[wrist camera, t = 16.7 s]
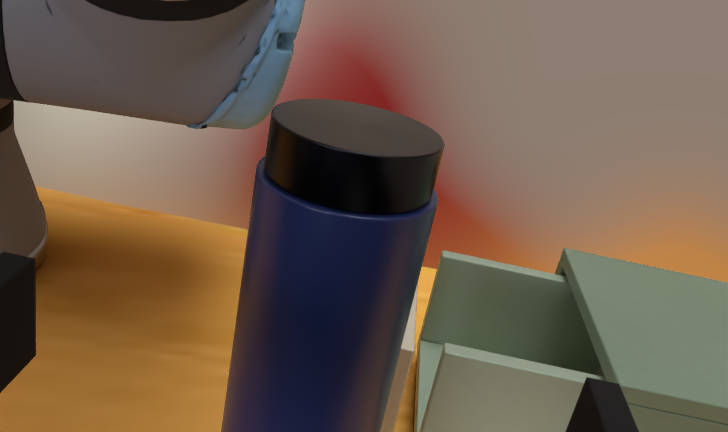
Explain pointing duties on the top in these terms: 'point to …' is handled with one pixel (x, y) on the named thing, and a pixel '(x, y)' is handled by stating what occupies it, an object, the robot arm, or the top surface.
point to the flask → (330, 267)
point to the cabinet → (656, 339)
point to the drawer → (494, 351)
